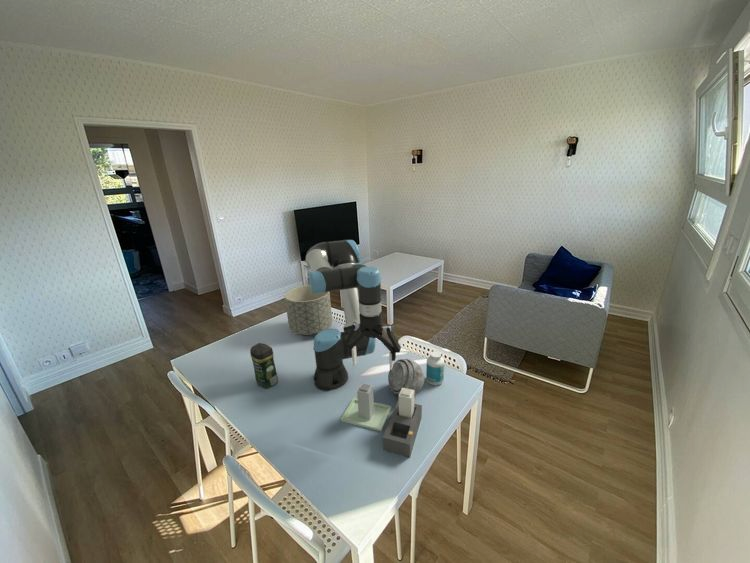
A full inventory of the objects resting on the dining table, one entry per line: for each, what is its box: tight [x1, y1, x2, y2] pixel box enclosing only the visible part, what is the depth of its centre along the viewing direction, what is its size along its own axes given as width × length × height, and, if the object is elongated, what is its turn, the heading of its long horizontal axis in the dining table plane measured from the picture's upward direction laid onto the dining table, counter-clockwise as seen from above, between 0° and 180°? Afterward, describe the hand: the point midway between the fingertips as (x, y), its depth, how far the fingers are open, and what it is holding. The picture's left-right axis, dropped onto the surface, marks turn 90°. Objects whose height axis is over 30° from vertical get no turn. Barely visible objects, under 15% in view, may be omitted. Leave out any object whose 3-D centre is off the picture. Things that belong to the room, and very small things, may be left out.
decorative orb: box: [387, 358, 425, 396], centre depth 125 cm, size 15×14×15 cm
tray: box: [340, 397, 392, 433], centre depth 116 cm, size 16×12×2 cm
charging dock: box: [382, 388, 423, 458], centre depth 105 cm, size 9×18×15 cm, turn 160°
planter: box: [284, 284, 333, 336], centre depth 178 cm, size 25×25×24 cm
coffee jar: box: [249, 342, 279, 389], centre depth 134 cm, size 10×8×19 cm
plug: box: [356, 382, 375, 420], centre depth 114 cm, size 4×4×13 cm
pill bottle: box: [425, 350, 445, 386], centre depth 132 cm, size 8×7×14 cm
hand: (372, 365), depth 111 cm, fingers open, 13 cm apart
